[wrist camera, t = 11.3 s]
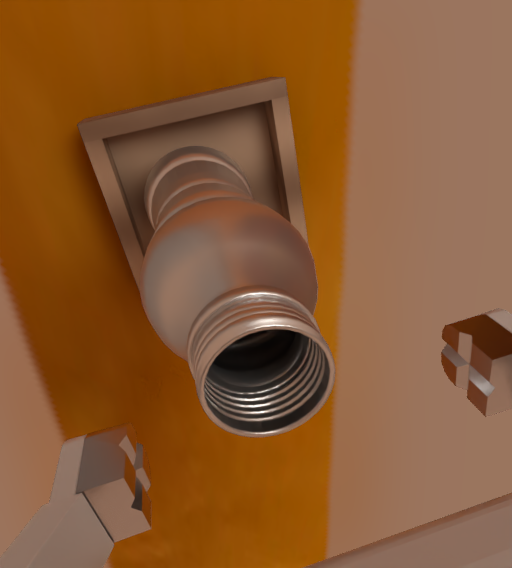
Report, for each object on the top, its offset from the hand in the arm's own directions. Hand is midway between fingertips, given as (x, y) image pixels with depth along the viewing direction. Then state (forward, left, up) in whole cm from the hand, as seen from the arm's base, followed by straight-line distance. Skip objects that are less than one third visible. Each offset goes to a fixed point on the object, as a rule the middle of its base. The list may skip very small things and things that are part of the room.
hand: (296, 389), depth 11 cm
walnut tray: (0, 0, -21) cm, 21 cm away
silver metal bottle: (0, -1, -20) cm, 20 cm away
